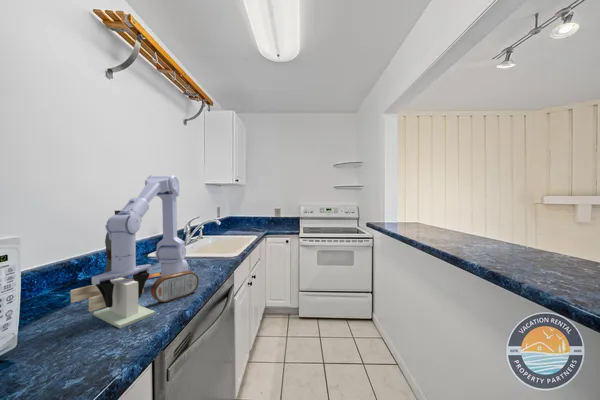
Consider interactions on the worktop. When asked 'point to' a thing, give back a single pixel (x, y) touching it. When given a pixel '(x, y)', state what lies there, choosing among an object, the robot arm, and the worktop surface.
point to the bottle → (109, 251)
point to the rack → (89, 292)
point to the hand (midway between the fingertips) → (124, 301)
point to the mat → (121, 320)
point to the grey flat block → (125, 297)
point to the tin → (174, 286)
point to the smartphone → (151, 276)
